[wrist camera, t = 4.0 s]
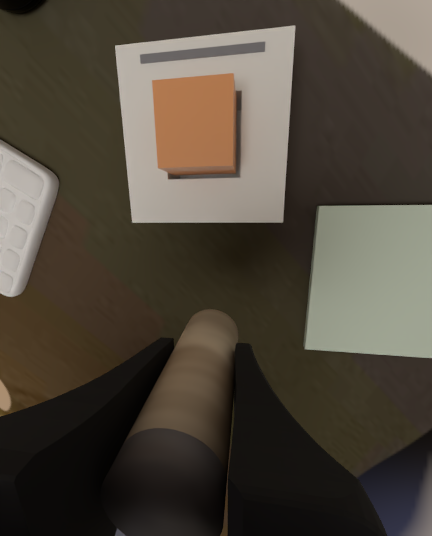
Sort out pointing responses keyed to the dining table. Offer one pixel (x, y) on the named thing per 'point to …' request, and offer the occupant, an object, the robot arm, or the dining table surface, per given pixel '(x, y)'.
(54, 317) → the dining table surface
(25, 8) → the supplement container
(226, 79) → the button
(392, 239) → the sage board
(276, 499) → the robot arm
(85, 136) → the dining table surface
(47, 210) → the calculator
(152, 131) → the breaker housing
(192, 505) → the tan lidded jar
